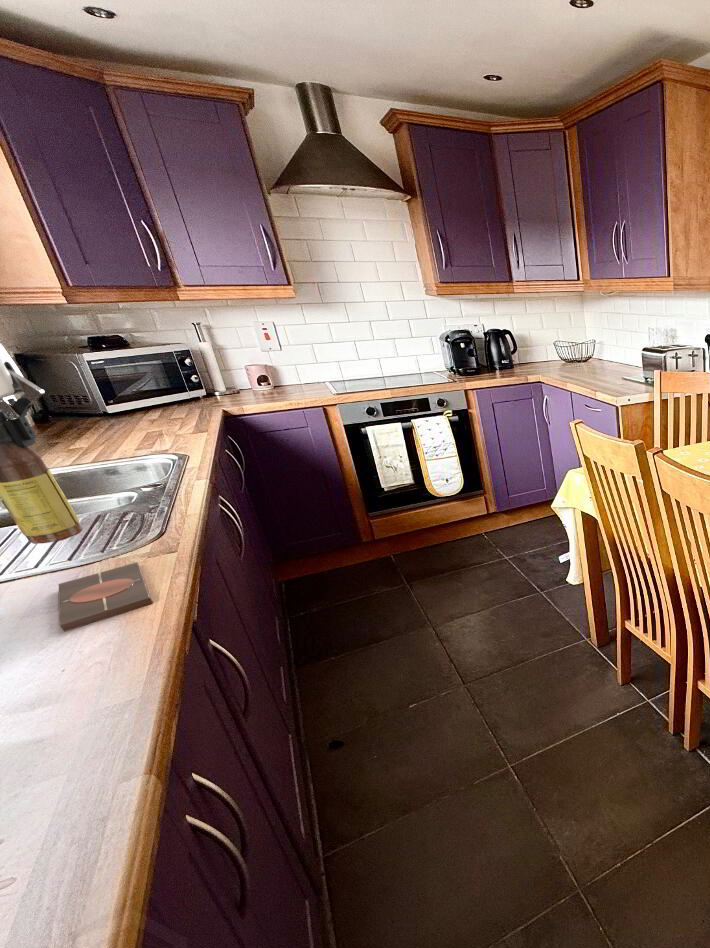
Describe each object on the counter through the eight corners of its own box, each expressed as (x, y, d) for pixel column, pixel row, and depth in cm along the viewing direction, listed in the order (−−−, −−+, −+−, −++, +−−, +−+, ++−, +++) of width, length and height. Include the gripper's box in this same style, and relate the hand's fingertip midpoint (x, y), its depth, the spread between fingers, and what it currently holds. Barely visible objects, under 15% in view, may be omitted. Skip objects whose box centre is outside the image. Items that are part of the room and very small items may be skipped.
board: (61, 589, 108) (58, 583, 107) (140, 567, 115) (137, 561, 114) (63, 631, 94) (59, 624, 93) (152, 603, 101) (149, 597, 100)
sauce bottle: (47, 532, 94) (-26, 409, 85) (94, 526, 95) (27, 405, 87) (16, 549, 88) (-66, 419, 79) (67, 542, 89) (-8, 414, 81)
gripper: (25, 309, 84) (91, 433, 92) (-146, 319, 77) (-59, 452, 85) (-4, 311, 78) (69, 444, 85) (-192, 322, 71) (-95, 465, 79)
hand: (4, 446), depth 85 cm, fingers closed on sauce bottle, 4 cm apart
